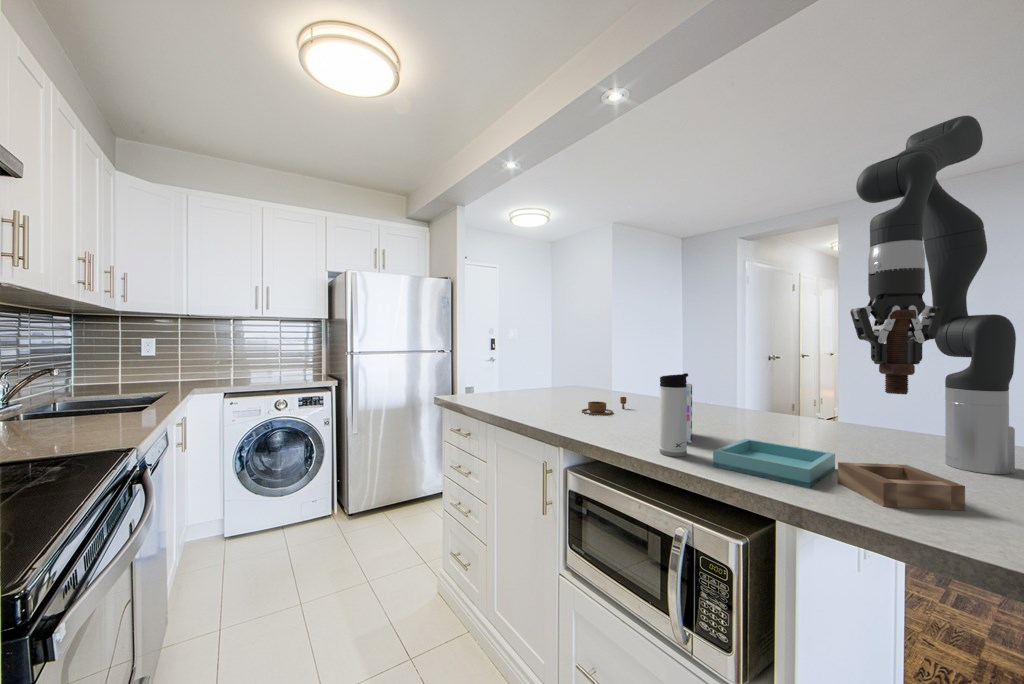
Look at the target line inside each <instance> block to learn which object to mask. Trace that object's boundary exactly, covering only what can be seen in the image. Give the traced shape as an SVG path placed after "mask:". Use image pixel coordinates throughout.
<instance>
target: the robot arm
mask: <svg viewBox="0 0 1024 684" xmlns="http://www.w3.org/2000/svg"><path fill="white" fill-rule="evenodd" d="M983 138H984V137H983V130H982V127H981V125H980V122H979V121H978V119H977V118H975V117H974V116H971V115H960V116H957V117H954V118H950V119H949V120H948V119H947V120H946V121H943V122H941V123H938V124H935V125H933V126H930V127H928V128H925V129H923V130H920V131H918V132H915V133H913V134H911V135H909V137H908V138H907V140H906V144H905V149H904V150H903V151H901V152H899V153H898V154H897V155H894V156H891V157H889V158H887V159H883V160H880V161H878V162H875V163H872V164H871V165H868V166H866V167H865V168H864V170H862V171H861V173H860V174H859V176H858V178H857V180H856V184H855V185H856V186H855V189H856V193H857V195H858V197H859V198H860V199H861V200H862V201H864V202H867V203H870V204H876V203H882V202H887V201H891V200H895V199H900V198H901V201H900V202H899V204H897V205H896V206H894V207H893V208H890V209H887V210H886V211H884V212H880V213H878V214H877V215H875V216H873V217H872V218H871V220H870V222H869V253H868V259H867V261H868V262H867V264H868V265H867V269H868V270H867V275H868V276H867V277H868V278H867V281H868V282H867V283H868V284H867V285H868V286H867V287H868V291H867V292H868V293H867V295H868V296H869V298H870V299H869V301H868V304H867V305H866V306H863V307H856V308H851V309H850V311H849V313H850V316H851V319H852V323H853V325H854V329H855V332H856V335H857V339H859V340H861V341H866V342H867V343H869V344H870V359H871V361H872V362H873V364H875V365H880V364H886V363H887V344H885V343H886V338H887V335H888V333H889V332H890V331H891V330H892V327H893V325H894V322H895V319H891V314H892V312H893V311H895V310H916V319H910V328H909V332H908V333H909V334H908V335H909V336H908V337H909V338H908V339H909V340H908V342H909V343H908V344H909V345H908V346H909V347H908V348H909V349H908V350H909V351H908V352H909V353H908V354H909V355H908V361H909V362H908V363H909V364H913V365H919V364H920V363H921V362H922V360H923V345H924V343H925V342H926V341H929V340H930V341H931V340H934V342H935V345H936V347H937V349H938V350H939V351H940V352H941V353H942V354H943V355H945V356H948V357H954V358H970V360H971V361H970V364H969V366H968V367H966V368H964V369H962V370H960V371H957V372H953V373H949V374H946V377H945V378H944V379H945V380H944V382H945V383H944V385H945V386H944V388H945V389H944V390H945V391H944V392H945V394H944V395H945V396H944V399H945V402H944V405H945V414H944V415H945V418H944V419H945V420H944V423H945V427H944V429H945V438H944V439H945V443H944V445H945V446H944V447H945V450H944V451H945V452H944V453H945V454H944V455H945V462H944V463H945V464H946V465H947V466H949V467H951V468H952V467H953V468H955V469H960V470H963V471H969V472H975V473H981V474H991V475H1007V474H1015V470H1016V469H1015V468H1016V467H1015V466H1016V462H1015V461H1016V459H1015V458H1016V455H1015V454H1016V446H1015V445H1016V441H1015V440H1016V432H1015V431H1016V428H1014V427H1013V426H1010V391H1009V390H1010V383H1011V381H1012V378H1013V376H1014V372H1015V371H1014V369H1015V356H1016V345H1017V337H1016V329H1015V327H1014V324H1013V323H1012V321H1011V320H1010V319H1009V318H1008V317H1006V316H1004V315H1001V314H974V315H969V313H968V303H967V297H968V291H969V288H970V285H971V284H972V282H973V281H974V278H975V276H977V273H978V272H979V270H980V269H981V267H982V265H983V264H984V262H985V259H986V257H987V254H988V244H987V238H986V237H987V236H986V231H985V226H984V221H983V219H982V218H981V217H980V215H978V214H977V213H976V212H975V211H973V210H972V209H970V208H969V207H967V206H966V205H965V204H963V203H962V202H960V201H959V200H957V199H955V198H954V197H953V196H951V195H950V193H948V192H947V191H946V190H945V189H944V188H943V187H942V186H941V185H940V183H939V181H938V179H937V173H938V172H940V171H942V170H943V169H945V168H947V167H948V166H949V167H950V166H952V165H955V164H958V163H961V162H964V161H966V160H969V159H971V158H973V157H974V156H976V155H977V154H979V152H980V151H981V149H982V146H983V143H984V142H983V140H984V139H983ZM926 262H927V263H926ZM926 264H927V267H928V273H929V281H930V289H931V297H932V300H931V301H932V306H931V305H927V304H926V303H925V301H924V298H923V296H924V293H925V292H926ZM887 311H890V312H888V314H887ZM870 316H873V320H872V323H871V321H870ZM919 316H921V317H922V318H921V320H920V317H919Z"/></svg>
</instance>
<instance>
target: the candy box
mask: <svg viewBox="0 0 1024 684" xmlns="http://www.w3.org/2000/svg"><path fill="white" fill-rule="evenodd" d="M686 385H687V389H686V390H687V444H692V443H693V384H692V383H689V382H687V383H686Z"/></svg>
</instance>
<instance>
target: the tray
mask: <svg viewBox="0 0 1024 684" xmlns="http://www.w3.org/2000/svg"><path fill="white" fill-rule="evenodd" d="M712 461H713V462H712V466H713V467H714V468H719V469H724V470H728V471H732V472H737V473H742V474H744V475H750V476H755V477H759V478H763V479H768V480H771V481H777V482H781V483H785V484H789V485H794V486H798V487H802V488H807V489H811V487H813V486H815V484H817V483H819V482H820V481H821V480H823V479H824V478H825V477H827V476H828V475H830V474H831V473H832V472H833V471H835V470H836V453H835V452H829V451H823V450H817V449H816V450H815V449H811V448H806V447H805V448H804V447H798V446H794V445H793V446H792V445H788V444H787V445H785V444H779V443H773V442H768V441H762V440H756V439H750V438H744V439H741V440H739V441H736V442H733V443H730V444H727V445H725V446H722V447H719V448H717V449H716V448H715V449H713V451H712Z"/></svg>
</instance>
